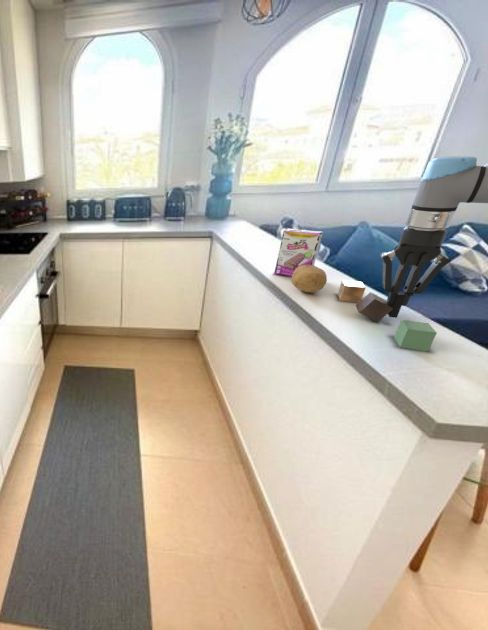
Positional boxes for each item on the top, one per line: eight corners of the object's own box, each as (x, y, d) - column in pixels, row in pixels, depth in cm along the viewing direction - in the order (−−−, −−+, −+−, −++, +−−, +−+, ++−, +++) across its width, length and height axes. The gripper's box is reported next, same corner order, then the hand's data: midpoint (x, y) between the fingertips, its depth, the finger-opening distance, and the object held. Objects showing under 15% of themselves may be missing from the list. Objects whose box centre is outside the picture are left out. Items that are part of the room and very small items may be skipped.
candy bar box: (273, 274, 129) (282, 230, 121) (277, 270, 132) (286, 227, 124) (308, 280, 121) (320, 234, 114) (311, 276, 125) (323, 231, 117)
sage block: (420, 341, 83) (428, 323, 81) (428, 351, 79) (436, 332, 77) (393, 337, 86) (401, 319, 83) (399, 347, 82) (407, 329, 79)
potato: (317, 283, 119) (323, 261, 115) (329, 299, 107) (336, 275, 103) (284, 281, 122) (289, 260, 118) (292, 297, 110) (298, 273, 107)
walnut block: (372, 314, 96) (388, 301, 93) (377, 322, 93) (393, 308, 90) (355, 305, 97) (370, 291, 94) (358, 312, 93) (374, 298, 91)
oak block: (357, 296, 107) (362, 281, 105) (360, 303, 103) (365, 287, 101) (337, 294, 109) (341, 280, 107) (340, 300, 105) (344, 285, 103)
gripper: (395, 230, 82) (364, 317, 92) (471, 232, 76) (429, 325, 87) (386, 223, 88) (358, 306, 98) (456, 225, 82) (418, 313, 93)
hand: (391, 315), depth 92 cm, fingers closed
